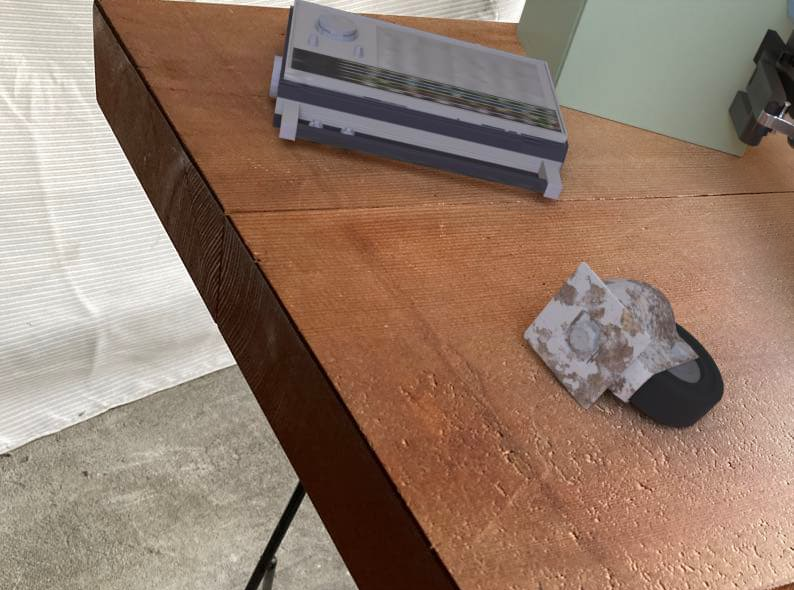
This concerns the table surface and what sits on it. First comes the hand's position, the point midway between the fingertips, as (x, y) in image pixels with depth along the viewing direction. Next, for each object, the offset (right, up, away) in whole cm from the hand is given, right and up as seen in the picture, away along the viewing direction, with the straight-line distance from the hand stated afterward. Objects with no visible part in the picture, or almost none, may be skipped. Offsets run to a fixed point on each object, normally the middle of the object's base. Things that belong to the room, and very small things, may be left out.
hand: (778, 49), depth 87 cm
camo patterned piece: (-19, -33, -21) cm, 43 cm away
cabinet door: (-10, -6, +7) cm, 13 cm away
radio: (-33, -8, -2) cm, 34 cm away
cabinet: (-10, +5, +16) cm, 20 cm away
